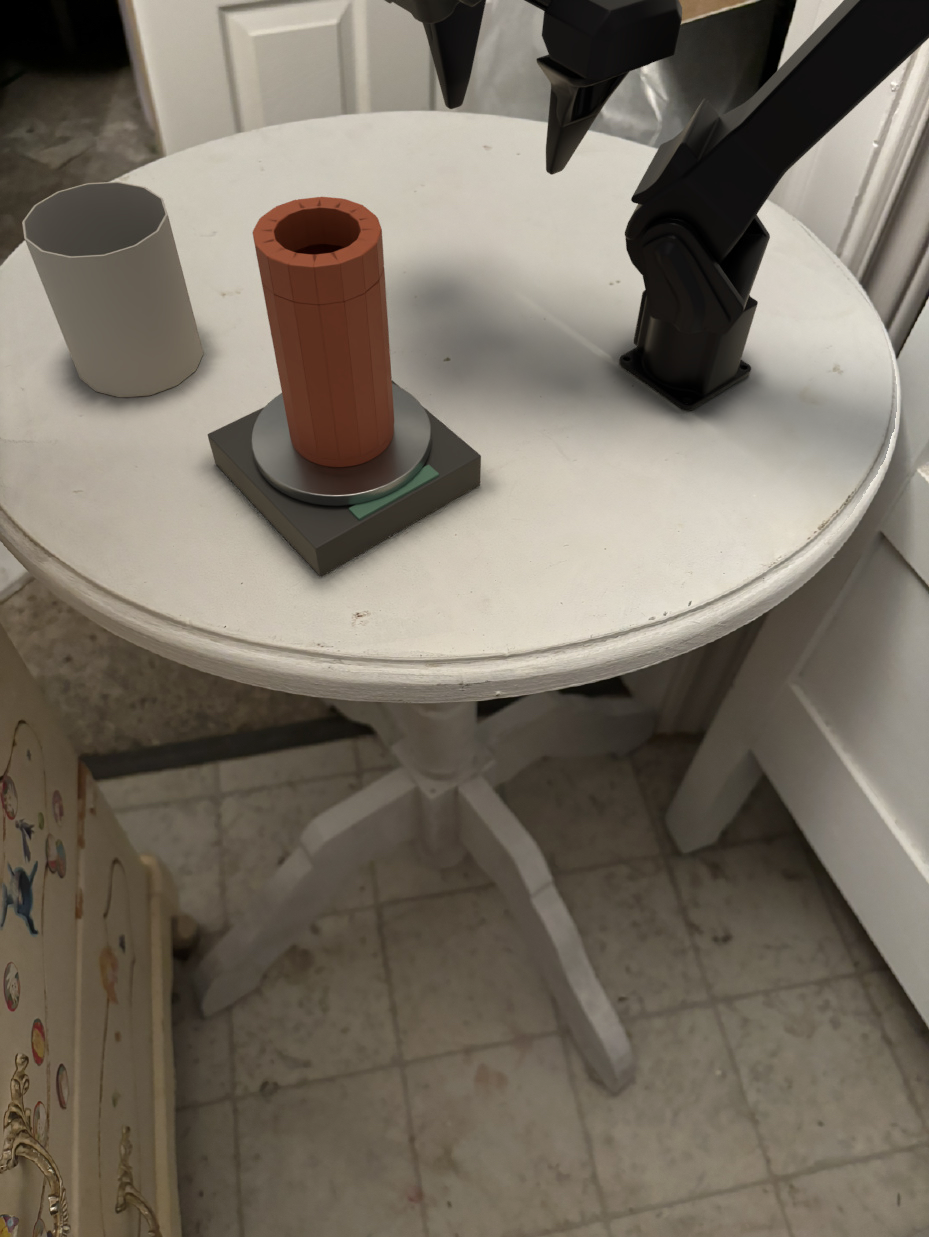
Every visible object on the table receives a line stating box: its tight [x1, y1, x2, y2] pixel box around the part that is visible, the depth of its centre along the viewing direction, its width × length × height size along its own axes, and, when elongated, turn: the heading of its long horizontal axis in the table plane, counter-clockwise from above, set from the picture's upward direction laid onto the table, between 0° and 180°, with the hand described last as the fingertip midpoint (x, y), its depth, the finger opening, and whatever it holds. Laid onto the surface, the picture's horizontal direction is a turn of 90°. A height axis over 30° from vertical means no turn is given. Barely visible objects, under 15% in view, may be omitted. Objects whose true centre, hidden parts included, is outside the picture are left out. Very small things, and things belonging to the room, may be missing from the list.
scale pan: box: [251, 384, 431, 506], centre depth 54 cm, size 10×10×1 cm
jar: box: [252, 196, 394, 467], centre depth 49 cm, size 6×6×12 cm
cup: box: [21, 181, 205, 398], centre depth 59 cm, size 8×8×10 cm
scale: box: [207, 380, 482, 577], centre depth 56 cm, size 12×12×3 cm
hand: (502, 138), depth 55 cm, fingers open, 9 cm apart
